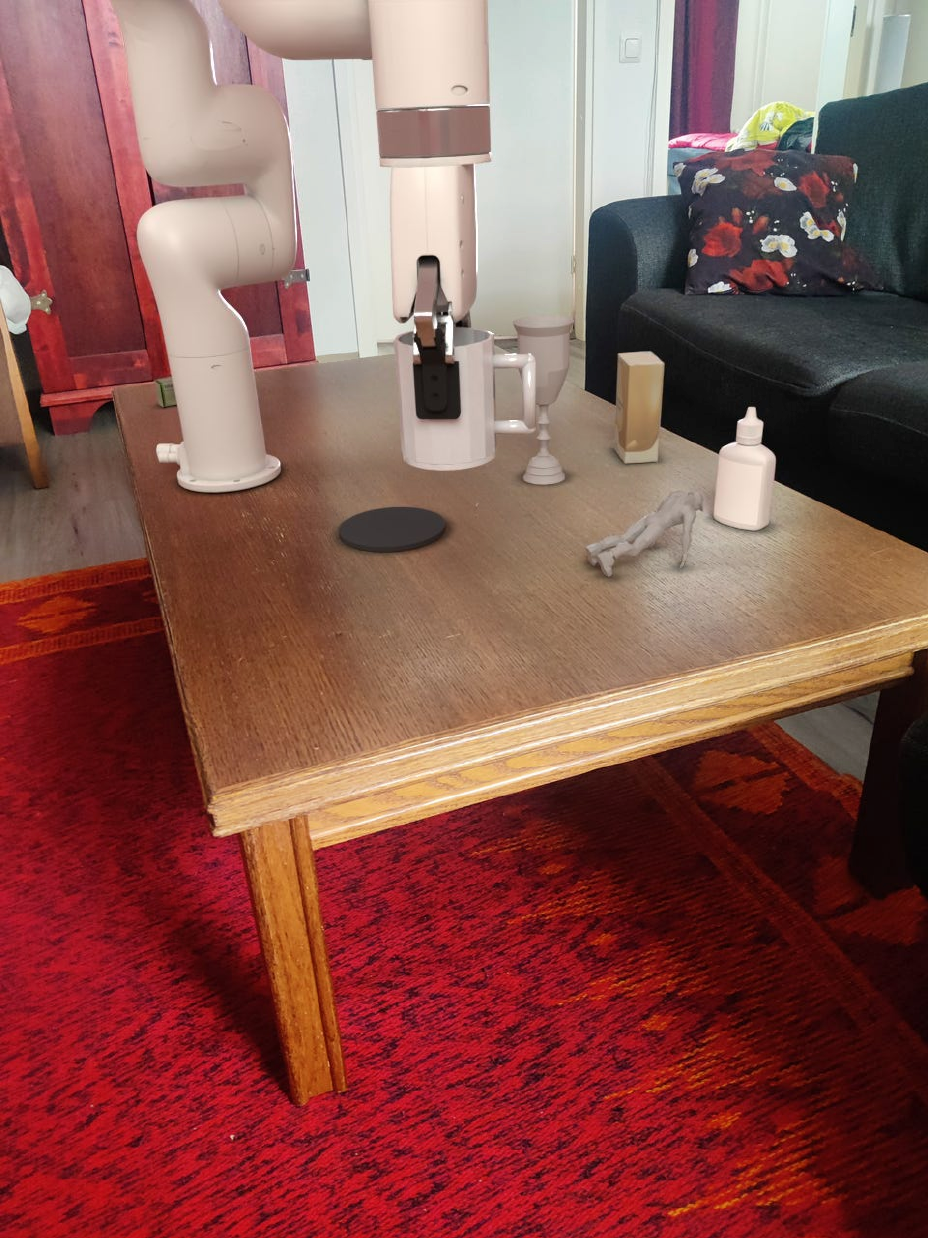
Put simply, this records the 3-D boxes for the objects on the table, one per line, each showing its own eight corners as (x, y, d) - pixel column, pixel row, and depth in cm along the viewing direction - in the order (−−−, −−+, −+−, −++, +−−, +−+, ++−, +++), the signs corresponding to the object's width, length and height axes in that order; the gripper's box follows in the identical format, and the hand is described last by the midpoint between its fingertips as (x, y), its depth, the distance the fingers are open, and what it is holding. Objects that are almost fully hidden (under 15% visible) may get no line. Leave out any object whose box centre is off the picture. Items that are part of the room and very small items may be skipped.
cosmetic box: (612, 449, 121) (616, 352, 115) (646, 447, 121) (651, 349, 116) (624, 465, 115) (628, 363, 110) (659, 462, 116) (665, 361, 110)
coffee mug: (395, 470, 71) (385, 348, 67) (411, 440, 77) (404, 327, 73) (532, 471, 69) (532, 346, 65) (538, 441, 76) (538, 325, 72)
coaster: (327, 551, 96) (326, 546, 96) (353, 511, 106) (352, 506, 105) (436, 553, 94) (436, 547, 94) (452, 511, 104) (452, 506, 104)
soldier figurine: (624, 605, 88) (730, 541, 89) (607, 559, 85) (717, 493, 86) (591, 579, 93) (692, 518, 94) (574, 535, 90) (678, 473, 91)
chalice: (569, 488, 109) (570, 327, 101) (510, 486, 110) (507, 327, 102) (575, 467, 115) (577, 314, 107) (520, 466, 117) (517, 315, 108)
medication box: (163, 408, 149) (158, 384, 147) (156, 403, 151) (152, 379, 149) (234, 393, 155) (230, 369, 153) (227, 388, 157) (223, 364, 155)
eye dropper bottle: (734, 535, 95) (745, 417, 89) (708, 516, 100) (717, 403, 94) (774, 529, 96) (787, 412, 90) (746, 510, 101) (757, 398, 95)
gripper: (403, 138, 71) (417, 374, 80) (349, 147, 56) (373, 437, 64) (502, 134, 70) (506, 374, 79) (474, 142, 55) (483, 438, 63)
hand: (446, 401), depth 71 cm, fingers closed on coffee mug, 7 cm apart
